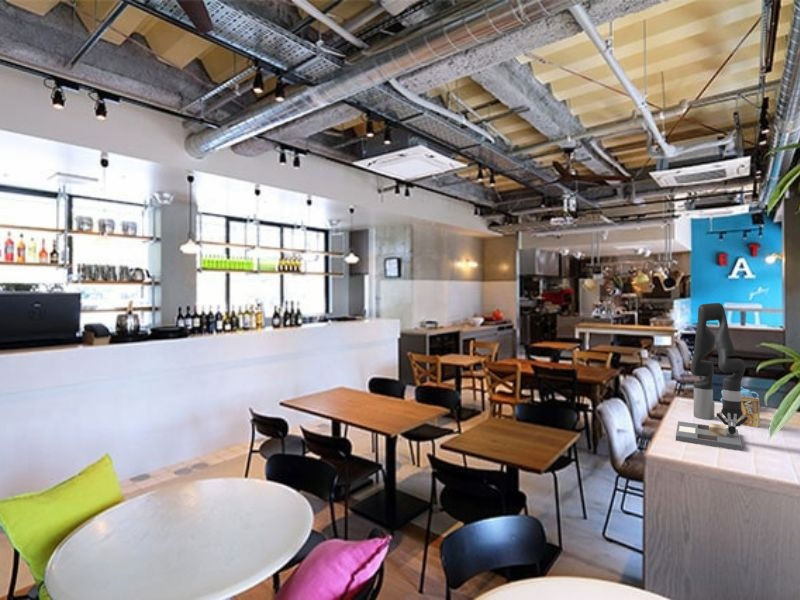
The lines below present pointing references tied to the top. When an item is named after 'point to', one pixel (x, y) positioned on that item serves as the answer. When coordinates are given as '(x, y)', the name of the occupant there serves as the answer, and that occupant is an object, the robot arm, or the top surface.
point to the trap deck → (706, 436)
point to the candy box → (750, 410)
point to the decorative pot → (745, 393)
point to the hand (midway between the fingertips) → (731, 433)
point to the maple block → (717, 429)
